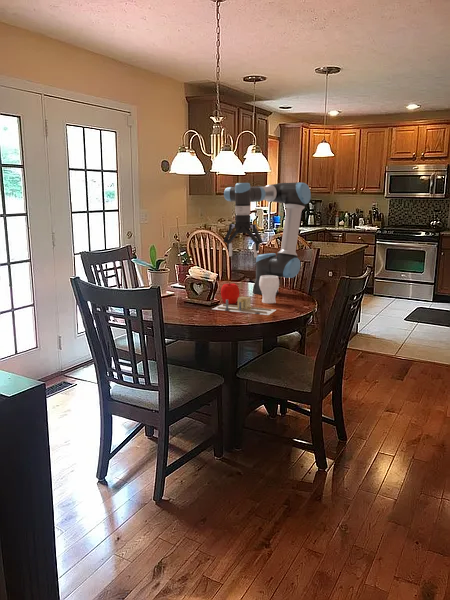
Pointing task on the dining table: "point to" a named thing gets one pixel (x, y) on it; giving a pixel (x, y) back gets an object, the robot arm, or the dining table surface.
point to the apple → (230, 293)
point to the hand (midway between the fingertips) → (242, 256)
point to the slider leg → (244, 303)
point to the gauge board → (235, 309)
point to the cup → (269, 288)
